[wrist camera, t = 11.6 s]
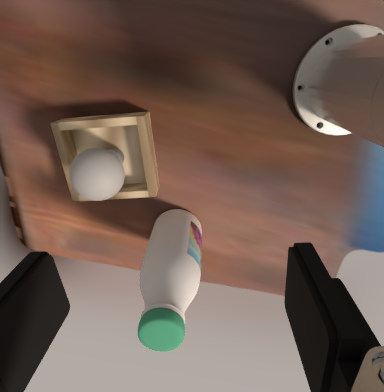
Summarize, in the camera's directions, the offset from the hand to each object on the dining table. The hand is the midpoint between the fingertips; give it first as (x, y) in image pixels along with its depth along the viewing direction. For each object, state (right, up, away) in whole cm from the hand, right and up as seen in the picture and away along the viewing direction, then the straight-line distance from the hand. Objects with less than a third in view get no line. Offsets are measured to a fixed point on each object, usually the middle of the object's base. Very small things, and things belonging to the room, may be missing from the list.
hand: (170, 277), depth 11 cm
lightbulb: (-10, +9, +29) cm, 32 cm away
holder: (-10, +9, +29) cm, 32 cm away
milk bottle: (-1, -2, +34) cm, 34 cm away
